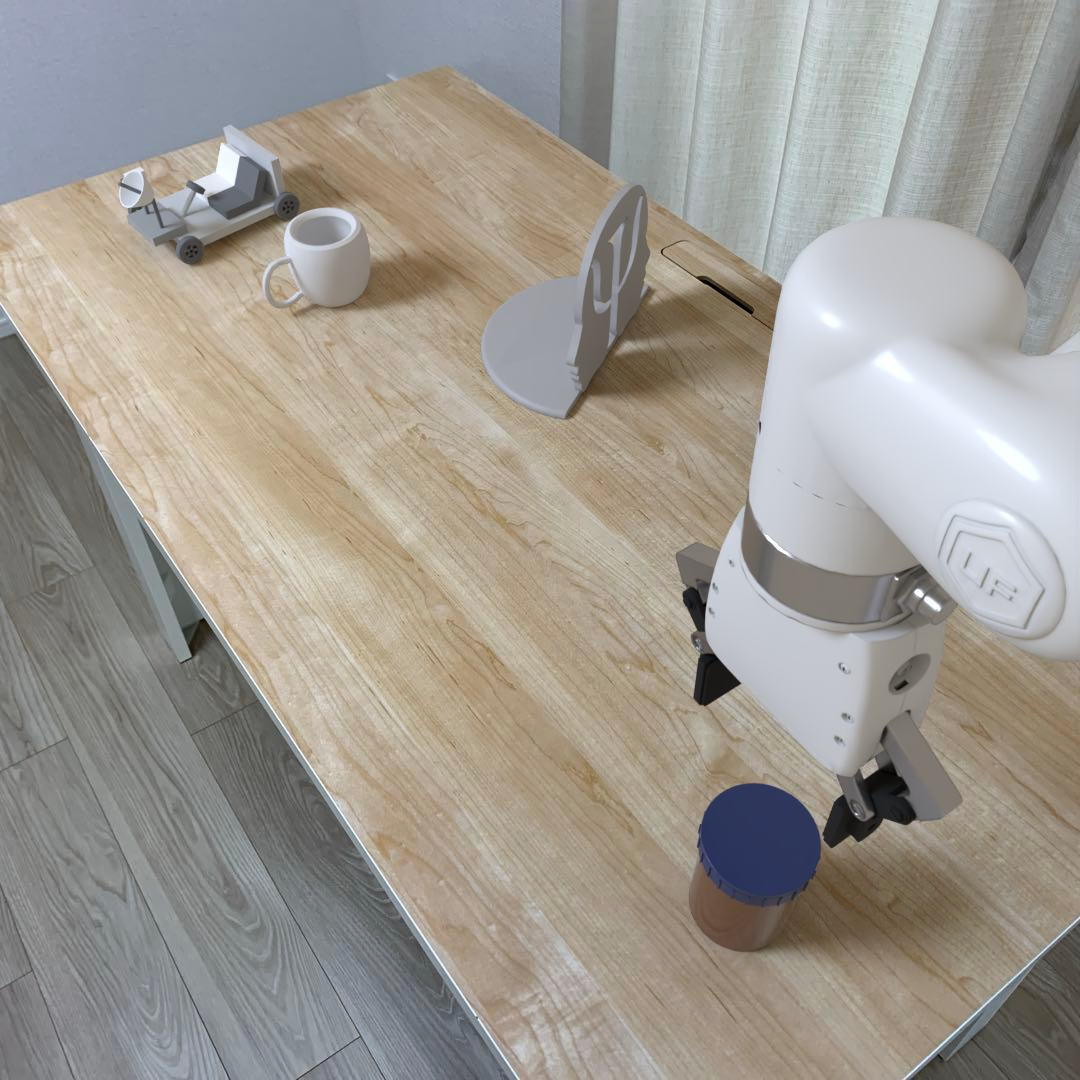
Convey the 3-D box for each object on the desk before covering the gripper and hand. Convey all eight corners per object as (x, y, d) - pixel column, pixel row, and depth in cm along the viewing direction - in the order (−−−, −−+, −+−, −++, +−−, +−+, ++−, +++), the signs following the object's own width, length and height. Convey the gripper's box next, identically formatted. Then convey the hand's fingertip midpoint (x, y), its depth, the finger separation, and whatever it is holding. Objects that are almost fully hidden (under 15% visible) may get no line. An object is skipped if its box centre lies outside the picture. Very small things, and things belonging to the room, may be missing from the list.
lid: (841, 862, 61) (848, 850, 60) (753, 932, 59) (757, 921, 57) (759, 774, 65) (763, 760, 63) (672, 836, 62) (675, 824, 61)
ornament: (566, 421, 97) (567, 270, 84) (441, 382, 101) (424, 231, 88) (652, 288, 110) (665, 139, 97) (538, 258, 113) (535, 110, 101)
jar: (809, 912, 67) (838, 852, 60) (735, 972, 65) (756, 917, 58) (741, 836, 71) (762, 770, 64) (668, 890, 68) (681, 829, 61)
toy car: (133, 197, 105) (80, 153, 110) (161, 279, 112) (110, 233, 118) (285, 133, 112) (228, 94, 118) (302, 213, 120) (248, 174, 125)
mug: (349, 258, 114) (337, 193, 108) (391, 295, 110) (382, 230, 104) (251, 301, 109) (233, 236, 103) (291, 342, 105) (275, 276, 99)
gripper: (1091, 635, 37) (963, 847, 50) (763, 380, 47) (726, 612, 60) (944, 741, 35) (849, 936, 47) (629, 448, 44) (621, 675, 57)
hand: (780, 755), depth 54 cm, fingers open, 9 cm apart
